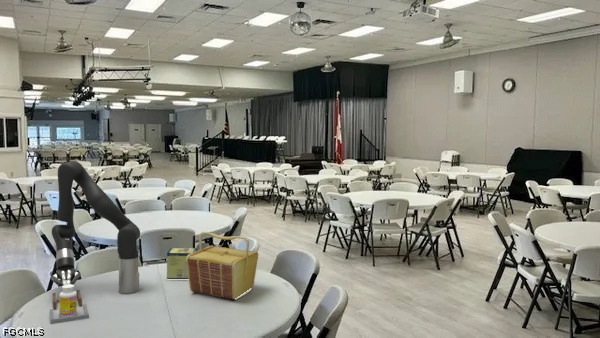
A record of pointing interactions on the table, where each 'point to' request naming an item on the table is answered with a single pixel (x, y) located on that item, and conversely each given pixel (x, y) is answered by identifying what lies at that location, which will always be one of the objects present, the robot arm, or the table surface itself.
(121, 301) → the table surface
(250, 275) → the picnic basket
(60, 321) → the grey flat square frame
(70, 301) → the supplement bottle
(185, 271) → the protein box
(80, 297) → the walnut dock
